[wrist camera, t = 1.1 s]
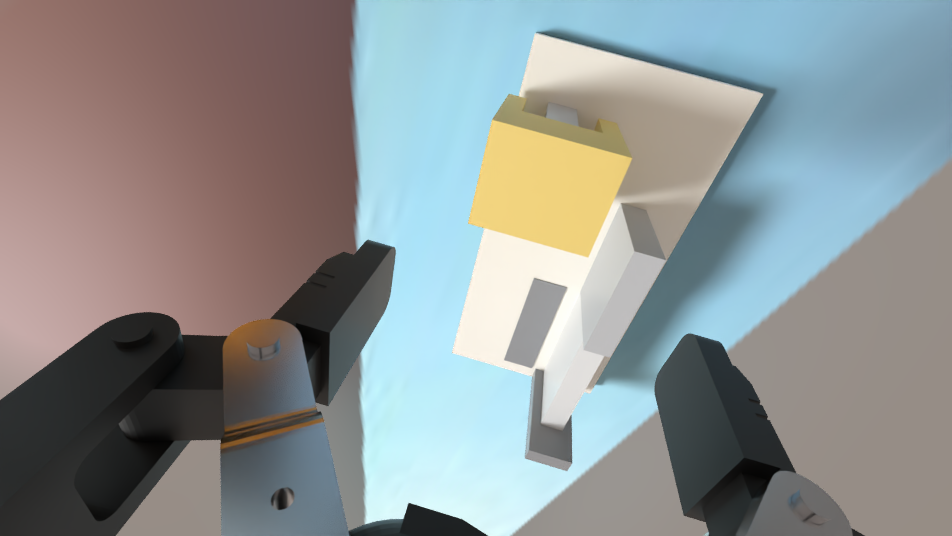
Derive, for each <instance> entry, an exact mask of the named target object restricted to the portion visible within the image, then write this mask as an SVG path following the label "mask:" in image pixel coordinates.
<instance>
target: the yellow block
mask: <svg viewBox="0 0 952 536" xmlns="http://www.w3.org/2000/svg"><path fill="white" fill-rule="evenodd" d="M526 100H527V99H526V98H523V97H519V96H515V95H512V94H509V95H508V96H507V98H506V99H505V101H504V102H503V104H502V105H501V107H500V109H499V110H498V112H497V113H496V115H495V116H494V118H493V119H492V123H491V127H490V131H489V136H488V140H487V144H486V149H485V153H484V157H483V162H482V166H481V170H480V174H479V179H478V183H477V187H476V192H475V196H474V200H473V205H472V209H471V213H470V217H469V222H468V224H472V225H475V226H479V227H482V228H486V229H489V230H493V231H496V232H500V233H503V234H507V235H510V236H514V237H517V238H521V239H524V240H528V241H532V242H535V243H539V244H542V245H546V246H549V247H553V248H556V249H560V250H563V251H567V252H570V253H574V254H577V255H581V256H584V257H589V255H590V253H591V250H592V248H593V246H594V244H595V241H596V239H597V237H598V235H599V232H600V230H601V228H602V226H603V223H604V221H605V219H606V217H607V214H608V212H609V210H610V208H611V205H612V203H613V201H614V199H615V196H616V194H617V192H618V190H619V187H620V185H621V183H622V181H623V178H624V176H625V174H626V172H627V169H628V167H629V165H630V163H631V160H632V156H631V154H630V152H629V149H628V147H627V145H626V143H625V140H624V138H623V136H622V134H621V132H620V129H619V127H618V125H617V123H615V122H611V121H607V120H604V119H600V118H599V119H598V121H597V124H596V127H595V129H594V131H593V130H589V129H586V128H582V127H579V126H575V125H571V124H568V123H564V122H560V121H557V120H553V119H549V118H546V117H542V116H538V115H535V114H531V113H527V112H524V107H525V104H526Z"/></svg>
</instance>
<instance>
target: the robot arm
mask: <svg viewBox="0 0 952 536" xmlns="http://www.w3.org/2000/svg"><path fill="white" fill-rule="evenodd" d="M395 254H396V250H395V247H391V246H388V245H384V244H381V243H378V242H374V241H371V240H367V241H366V242H365V243H364V244H363V245H362V246H361V247H360V249H359V250H358V251H357V252H356V253H355V254H354V255H353V254H349V253H346V252H343V253H340V254H338V255H336V256H334V257H332V258H330V259H327V260H326V261H325V262H324V263H323V264H322V265H321V266H320V267H319V268H318V270H316V273H315V274H313V275H312V276H311V277H310V278H309V279H308V280H307V282H306V283H304V284H303V285H302V286H301V287H300V288H299V289H298V290H297V292H295V294H294V295H293V296H292V297H291V298H290V299H289V300H288V301H287V302H286V303H285V304H284V305H283V306H282V307H281V308H280V309H279V310H278V311H277V312H276V313H275V314H274V315H273V316H272V318H271V319H263V320H257V321H253V322H249V323H247V324H244V325H242V326H240V327H238V328H237V329H235V330H234V331H233V332H231V333H230V335H229V336H202V335H181V331H180V327H179V324H178V323H177V321H176V320H174V319H173V318H172V317H170V316H168V315H165V314H161V313H152V312H144V313H135V314H129V315H125V316H122V317H119V318H116V319H113V320H111V321H109V322H107V323H105V324H104V325H102V326H100V327H99V328H97V329H96V330H94V331H93V332H92V333H90V334H89V335H88V336H86V337H85V338H83V339H82V340H81V341H80V342H78V343H77V344H75V345H74V346H73V347H71V348H70V349H69V350H67V351H66V352H65V353H63V354H62V355H61V356H59V357H58V358H56V359H55V360H54V361H52V362H51V363H50V364H49V365H47V366H46V367H44V368H43V369H42V370H40V371H39V372H38V373H36V374H35V375H34V376H32V377H31V378H29V379H28V380H27V381H25V382H24V383H23V384H21V385H20V386H19V387H17V388H16V389H15V390H13V391H12V392H11V393H9V394H8V395H6V396H5V397H4V398H3V399H1V400H0V536H116V534H117V533H118V532H119V531H120V529H121V528H122V527H123V526H124V524H125V523H126V522H127V520H128V519H129V518H130V517H131V515H132V514H133V513H134V512H135V510H136V509H137V508H138V506H139V505H140V504H141V503H142V501H143V500H144V499H145V498H146V496H147V495H148V494H149V493H150V491H151V490H152V489H153V487H154V486H155V485H156V484H157V482H158V481H159V480H160V479H161V477H162V476H163V475H164V474H165V472H166V471H167V470H168V469H169V467H170V466H171V465H172V463H173V462H174V461H175V460H176V458H177V457H178V456H179V455H180V453H181V452H182V451H183V449H184V448H185V447H186V446H187V444H188V443H189V442H190V441H191V440H221V443H220V466H221V467H220V471H221V472H220V473H221V536H488V535H486V534H484V533H483V532H481V531H480V530H478V529H477V528H475V527H473V526H472V525H470V524H469V523H467V522H466V521H464V520H462V519H459V518H456V517H453V516H450V515H446V514H443V513H440V512H437V511H433V510H430V509H427V508H424V507H420V506H417V505H414V504H411V503H409V504H408V507H407V510H406V513H405V516H404V519H390V520H382V521H376V522H372V523H369V524H365V525H362V526H360V527H357V528H355V529H353V530H350V531H348V527H347V522H346V518H345V514H344V509H343V504H342V500H341V495H340V491H339V486H338V482H337V477H336V473H335V468H334V464H333V459H332V455H331V450H330V446H329V441H328V437H327V432H326V427H325V423H324V420H323V416H322V413H321V412H318V411H317V408H316V403H319V404H323V405H326V406H329V404H330V402H331V401H332V399H333V397H334V396H335V394H336V392H337V391H338V389H339V387H340V386H341V384H342V382H343V381H344V379H345V377H346V375H347V374H348V372H349V370H350V369H351V367H352V366H353V364H354V362H355V360H356V358H357V357H358V356H359V354H360V352H361V351H362V349H363V347H364V346H365V344H366V342H367V341H368V339H369V337H370V335H371V334H372V332H373V330H374V329H375V327H376V325H377V324H378V322H379V320H380V319H381V317H382V315H383V314H384V312H385V310H386V307H387V304H388V301H389V298H390V293H391V286H392V278H393V270H394V263H395ZM655 397H656V401H657V405H658V409H659V414H660V418H661V422H662V426H663V430H664V434H665V439H666V442H667V447H668V451H669V456H670V460H671V463H672V468H673V472H674V476H675V481H676V485H677V489H678V493H679V498H680V502H681V505H682V510H683V514H684V516H687V517H690V518H694V519H697V520H700V521H703V522H706V524H707V528H708V532H707V533H705V534H704V535H703V536H864V535H862V534H861V533H859V532H857V531H855V530H854V529H852V528H851V526H850V523H849V521H848V519H847V517H846V516H845V514H844V512H843V511H842V509H841V508H840V507H839V506H838V504H837V503H836V502H835V501H834V500H833V499H832V498H831V497H830V496H829V495H828V494H827V493H826V492H825V491H824V490H823V489H821V488H820V487H819V486H818V485H816V484H815V483H813V482H812V481H810V480H809V479H807V478H805V477H803V476H801V475H799V474H797V473H796V471H795V469H794V468H793V466H792V464H791V462H790V460H789V458H788V456H787V454H786V452H785V450H784V448H783V446H782V444H781V442H780V440H779V438H778V436H777V434H776V432H775V430H774V428H773V426H772V424H771V422H770V420H767V417H768V416H767V414H766V412H765V410H764V408H763V406H762V405H760V400H759V398H758V396H757V394H756V392H755V390H754V388H753V386H752V384H751V383H750V382H749V381H748V380H747V379H746V377H745V376H744V375H743V374H742V373H741V372H740V371H739V370H738V369H737V367H736V366H733V365H732V364H731V362H730V359H729V357H728V355H727V353H726V351H725V349H724V347H723V345H722V344H721V343H720V342H718V341H715V340H711V339H708V338H705V337H701V336H698V335H694V334H686V335H685V336H684V337H683V338H682V339H681V341H680V342H679V343H678V345H677V346H676V348H675V349H674V351H673V352H672V354H671V355H670V357H669V358H668V359H667V361H666V362H665V364H664V365H663V367H662V368H661V370H660V371H659V373H658V375H657V378H656V382H655ZM315 402H316V403H315Z"/></svg>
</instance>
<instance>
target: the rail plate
mask: <svg viewBox="0 0 952 536" xmlns="http://www.w3.org/2000/svg"><path fill="white" fill-rule="evenodd" d="M762 96H763V94H762V93H760V92H757V91H755V90H751V89H747V88H743V87H740V86H736V85H732V84H728V83H725V82H721V81H717V80H713V79H710V78H706V77H702V76H698V75H695V74H691V73H687V72H683V71H680V70H676V69H672V68H668V67H665V66H661V65H657V64H653V63H650V62H646V61H642V60H638V59H635V58H631V57H627V56H623V55H620V54H616V53H612V52H608V51H604V50H601V49H597V48H593V47H589V46H586V45H582V44H578V43H574V42H571V41H567V40H563V39H559V38H556V37H552V36H548V35H544V34H541V33H537V32H536V33H535V35H534V39H533V43H532V47H531V51H530V55H529V59H528V62H527V66H526V70H525V74H524V78H523V82H522V85H521V89H520V93H519V97H523V98H526V99H527V100H526V104H525V107H524V112H527V113H531V114H535V115H538V116H542V117H546V118H549V119H553V120H557V121H560V122H564V123H568V124H571V125H575V126H579V127H582V128H586V129H589V130H593V131H594V129H595V127H596V124H597V121H598V119H599V118H600V119H604V120H607V121H611V122H615V123H617V125H618V127H619V129H620V132H621V134H622V136H623V138H624V140H625V143H626V145H627V147H628V149H629V152H630V154H631V156H632V160H631V163H630V165H629V167H628V169H627V172H626V174H625V176H624V178H623V181H622V183H621V185H620V187H619V190H618V192H617V194H616V196H615V199H614V201H613V203H612V205H611V208H610V210H609V212H608V214H607V217H606V219H605V221H604V223H603V226H602V228H601V230H600V232H599V235H598V237H597V239H596V241H595V244H594V246H593V248H592V250H591V253H590V255H589V257H584V256H581V255H577V254H574V253H570V252H567V251H563V250H560V249H556V248H553V247H549V246H546V245H542V244H539V243H535V242H532V241H528V240H524V239H521V238H517V237H514V236H510V235H507V234H503V233H500V232H496V231H493V230H489V229H486V228H484V231H483V235H482V239H481V243H480V247H479V251H478V255H477V258H476V262H475V266H474V270H473V274H472V278H471V281H470V285H469V289H468V293H467V297H466V301H465V304H464V308H463V312H462V316H461V320H460V324H459V328H458V331H457V335H456V339H455V343H454V347H453V351H452V353H454V354H458V355H461V356H464V357H468V358H471V359H475V360H478V361H481V362H485V363H488V364H491V365H495V366H498V367H502V368H505V369H508V370H512V371H515V372H519V373H522V374H525V375H529V376H532V383H531V394H530V405H529V416H528V428H527V439H526V450H525V458H526V459H529V460H532V461H535V462H539V463H542V464H545V465H549V466H552V467H555V468H559V469H562V470H565V471H568V469H569V467H570V466H571V464H572V421H571V414H572V413H573V411H574V409H575V407H576V405H577V404H578V402H579V400H580V398H581V397H582V395H583V393H584V392H586V393H591V391H592V389H593V388H594V386H595V384H596V382H597V381H598V379H599V377H600V375H601V374H602V372H603V370H604V369H605V367H606V365H607V363H608V362H609V360H610V358H611V356H612V355H613V353H614V351H615V350H616V348H617V346H618V344H619V343H620V341H621V339H622V337H623V336H624V334H625V332H626V331H627V329H628V327H629V325H630V324H631V322H632V320H633V318H634V317H635V315H636V313H637V312H638V310H639V308H640V306H641V305H642V303H643V301H644V299H645V298H646V296H647V294H648V293H649V291H650V289H651V287H652V286H653V284H654V282H655V280H656V279H657V277H658V275H659V274H660V272H661V270H662V268H663V267H664V265H665V263H666V261H667V260H668V258H669V256H670V255H671V253H672V251H673V249H674V248H675V246H676V244H677V242H678V241H679V239H680V237H681V236H682V234H683V232H684V230H685V229H686V227H687V225H688V223H689V222H690V220H691V218H692V217H693V215H694V213H695V211H696V210H697V208H698V206H699V204H700V203H701V201H702V199H703V198H704V196H705V194H706V192H707V191H708V189H709V187H710V185H711V184H712V182H713V180H714V179H715V177H716V175H717V173H718V172H719V170H720V168H721V166H722V165H723V163H724V161H725V160H726V158H727V156H728V154H729V153H730V151H731V149H732V147H733V146H734V144H735V142H736V141H737V139H738V137H739V135H740V134H741V132H742V130H743V129H744V127H745V125H746V123H747V122H748V120H749V118H750V116H751V115H752V113H753V111H754V110H755V108H756V106H757V104H758V103H759V101H760V99H761V97H762Z"/></svg>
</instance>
